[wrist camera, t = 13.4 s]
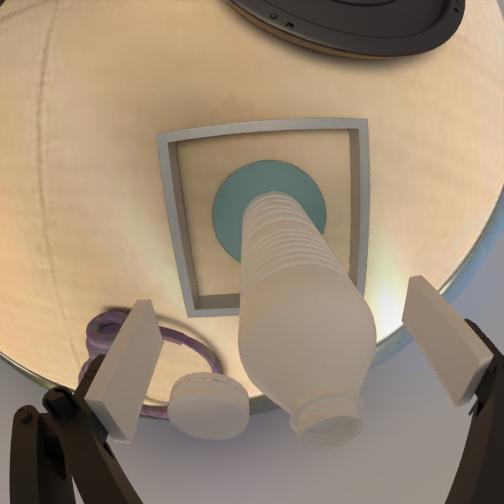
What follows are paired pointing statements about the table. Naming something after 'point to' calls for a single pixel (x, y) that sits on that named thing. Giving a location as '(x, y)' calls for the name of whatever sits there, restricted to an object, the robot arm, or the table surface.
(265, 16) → the round tray
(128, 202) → the table surface
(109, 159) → the table surface
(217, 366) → the headphones
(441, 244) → the table surface
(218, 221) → the teal round pad
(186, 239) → the teal-dotted square tray
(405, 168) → the table surface
